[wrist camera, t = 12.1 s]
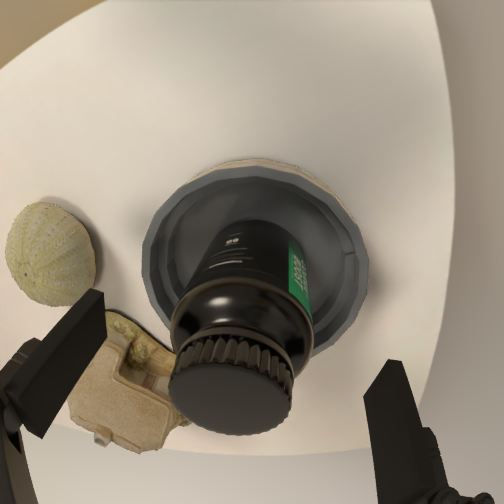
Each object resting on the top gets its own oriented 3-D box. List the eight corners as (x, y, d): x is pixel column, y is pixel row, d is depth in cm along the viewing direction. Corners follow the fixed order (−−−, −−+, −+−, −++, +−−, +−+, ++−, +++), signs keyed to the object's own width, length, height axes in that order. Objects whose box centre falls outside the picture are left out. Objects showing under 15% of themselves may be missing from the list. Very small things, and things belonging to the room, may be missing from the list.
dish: (213, 119, 18) (198, 120, 15) (395, 229, 20) (412, 250, 17) (136, 285, 24) (118, 309, 21) (287, 361, 26) (286, 392, 23)
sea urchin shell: (107, 317, 23) (20, 340, 19) (86, 273, 29) (16, 289, 24) (96, 211, 20) (-10, 231, 15) (79, 186, 25) (-1, 199, 20)
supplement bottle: (306, 215, 20) (328, 339, 9) (304, 305, 23) (311, 449, 12) (202, 217, 21) (119, 330, 10) (212, 304, 23) (165, 438, 13)
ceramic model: (78, 363, 30) (36, 427, 21) (86, 292, 25) (22, 364, 16) (190, 417, 31) (168, 492, 22) (227, 360, 26) (204, 457, 17)
